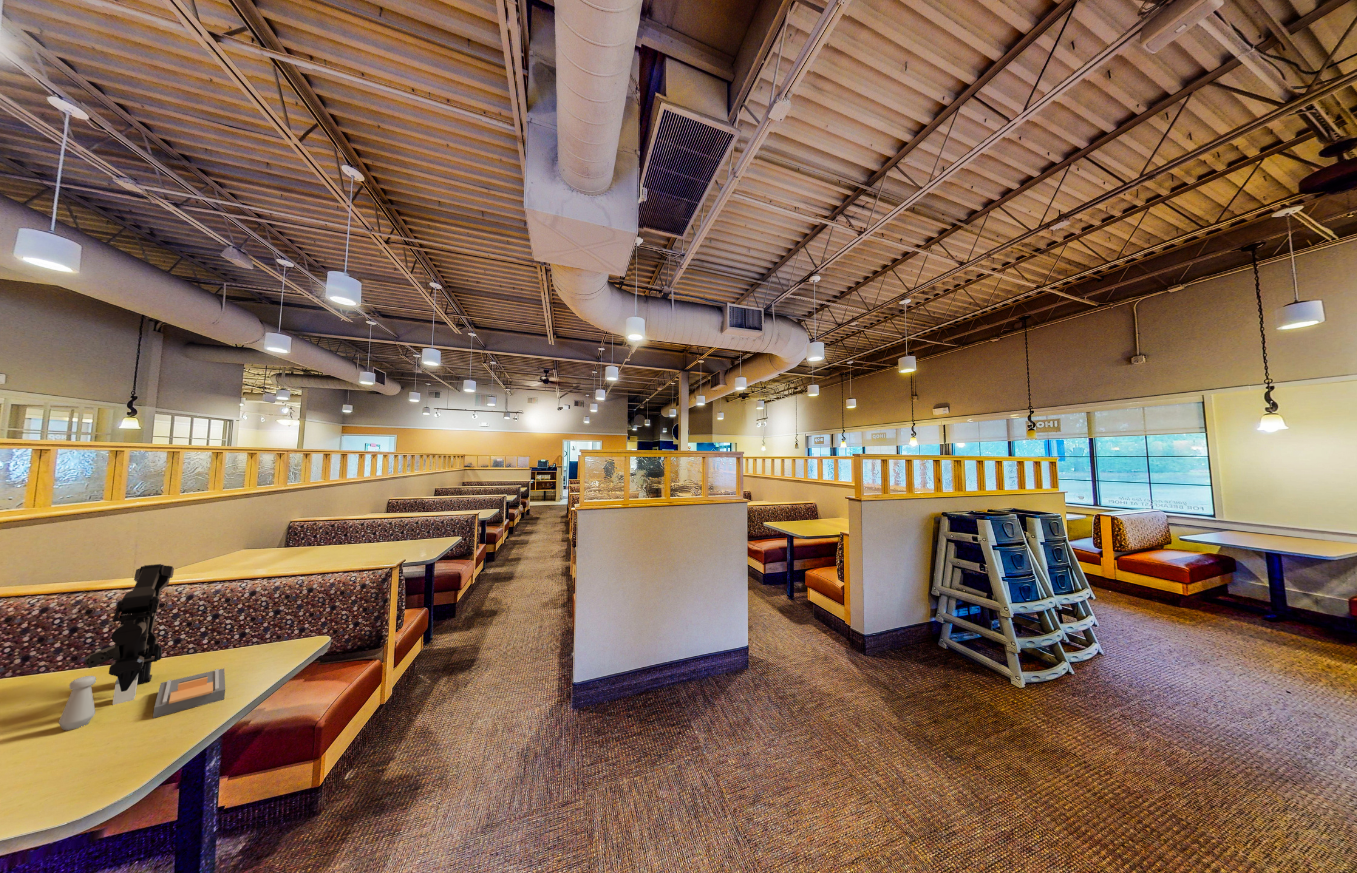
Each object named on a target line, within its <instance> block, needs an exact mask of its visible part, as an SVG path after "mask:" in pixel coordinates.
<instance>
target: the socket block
mask: <svg viewBox="0 0 1357 873" xmlns="http://www.w3.org/2000/svg"><path fill="white" fill-rule="evenodd" d="M225 675H226V674H225V668H221V669H219V668H217V669H214V670H211V671H207V672H203V673H198V674H193V675H190V676H184V677H181V678H176V679H168V680H166V681H164V682H163V681H162V682H160V684H159V688H158V692H157V695H156V700H155V704H154V707H153V708H154V709H153V713H152V714H153V715H152V719H156V718H159V717H162V716H166V715H171V714H174V713H177V712H181V711H187V710H189V709H193V708H196V707H201V706H204V705H208V704H212V703H216V702H220V701H224V700H225V695H226V679H225V678H226V676H225ZM204 677H208V679H207V683H210V682H213V693H209V694H205V695H202V696H198V697H194V698H190V699H186V700H182V701H178V702H174V703H170V704H169V700H170V695H171V692H173V691H177V690H178V684H179V683H183V682H187V681H192V680H196V679H200V678H204Z"/></svg>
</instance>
